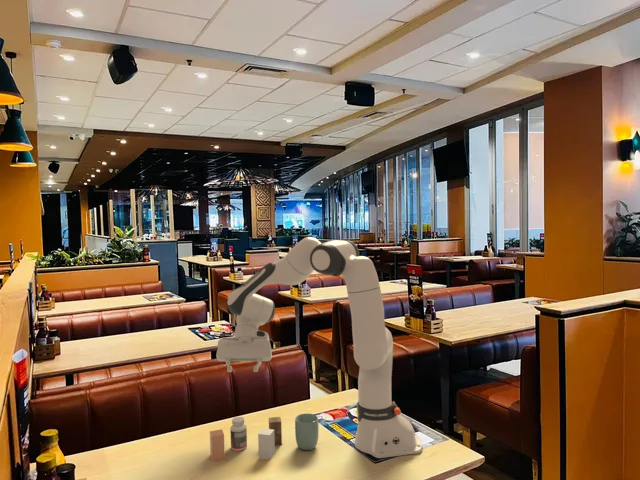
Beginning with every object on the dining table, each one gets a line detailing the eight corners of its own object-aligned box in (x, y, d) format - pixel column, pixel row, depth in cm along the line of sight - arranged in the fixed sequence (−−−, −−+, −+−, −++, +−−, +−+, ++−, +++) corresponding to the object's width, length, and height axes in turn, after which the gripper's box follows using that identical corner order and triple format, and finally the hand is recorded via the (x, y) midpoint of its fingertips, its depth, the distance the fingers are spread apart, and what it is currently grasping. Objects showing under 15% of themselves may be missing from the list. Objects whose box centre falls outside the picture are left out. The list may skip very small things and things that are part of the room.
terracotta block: (222, 452, 156) (222, 429, 155) (224, 458, 152) (223, 434, 151) (210, 455, 154) (209, 431, 154) (212, 461, 151) (211, 436, 150)
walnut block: (280, 439, 165) (280, 416, 164) (281, 444, 161) (281, 421, 160) (269, 440, 164) (268, 417, 163) (270, 445, 160) (269, 422, 159)
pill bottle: (230, 444, 161) (229, 416, 161) (246, 442, 162) (245, 414, 162) (231, 452, 156) (230, 423, 155) (247, 450, 157) (247, 421, 157)
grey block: (274, 453, 155) (274, 429, 154) (270, 459, 151) (269, 435, 150) (263, 452, 156) (262, 428, 155) (258, 458, 152) (258, 433, 151)
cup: (316, 454, 154) (315, 424, 153) (293, 452, 155) (292, 422, 155) (320, 442, 161) (320, 414, 161) (298, 441, 163) (298, 412, 162)
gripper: (217, 333, 177) (212, 367, 168) (272, 332, 177) (269, 366, 168) (220, 341, 182) (215, 375, 173) (273, 341, 182) (271, 374, 173)
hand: (242, 371), depth 170 cm, fingers open, 8 cm apart
